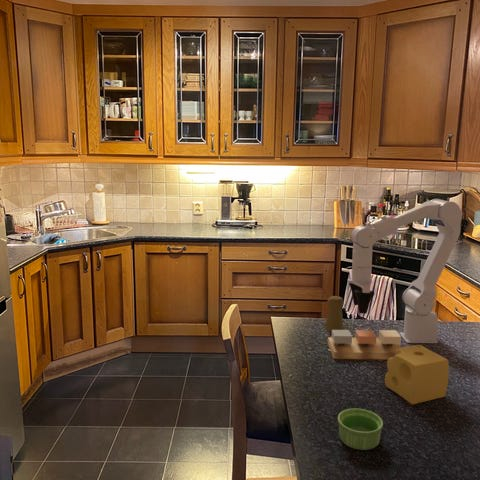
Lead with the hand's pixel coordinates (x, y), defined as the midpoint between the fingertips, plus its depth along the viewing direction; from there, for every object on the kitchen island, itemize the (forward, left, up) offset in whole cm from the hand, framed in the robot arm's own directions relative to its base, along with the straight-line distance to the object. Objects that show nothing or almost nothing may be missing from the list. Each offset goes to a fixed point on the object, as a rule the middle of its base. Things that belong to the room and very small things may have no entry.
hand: (360, 308), depth 148 cm
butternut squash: (+6, -10, -11) cm, 16 cm away
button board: (0, +8, -10) cm, 13 cm away
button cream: (-7, +8, -7) cm, 13 cm away
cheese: (-7, +32, -11) cm, 35 cm away
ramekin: (+11, +52, -11) cm, 54 cm away
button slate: (+7, +8, -7) cm, 13 cm away
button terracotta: (0, +8, -7) cm, 11 cm away
